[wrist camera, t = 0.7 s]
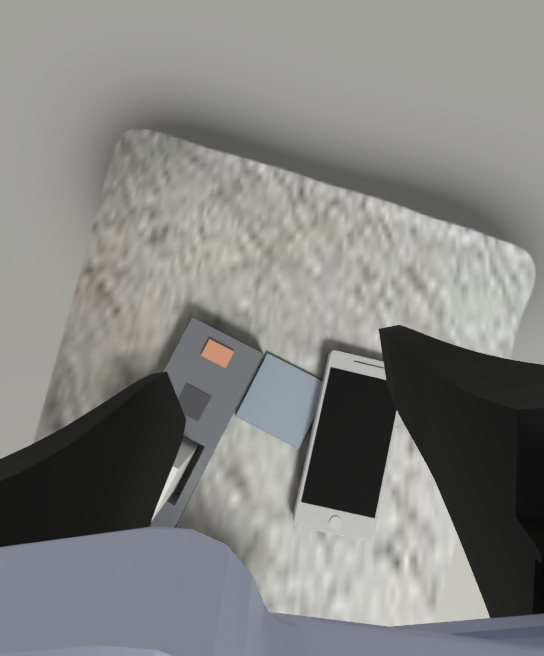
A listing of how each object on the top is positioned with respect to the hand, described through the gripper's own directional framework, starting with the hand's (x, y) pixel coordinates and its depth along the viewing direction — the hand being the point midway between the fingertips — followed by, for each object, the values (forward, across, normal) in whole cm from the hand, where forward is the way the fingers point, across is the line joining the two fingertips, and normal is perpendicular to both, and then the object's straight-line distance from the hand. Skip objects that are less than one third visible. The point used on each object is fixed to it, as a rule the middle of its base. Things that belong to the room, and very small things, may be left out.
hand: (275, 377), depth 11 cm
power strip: (+16, +12, +12) cm, 23 cm away
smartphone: (+15, -2, +16) cm, 23 cm away
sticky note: (+17, +3, +12) cm, 21 cm away
